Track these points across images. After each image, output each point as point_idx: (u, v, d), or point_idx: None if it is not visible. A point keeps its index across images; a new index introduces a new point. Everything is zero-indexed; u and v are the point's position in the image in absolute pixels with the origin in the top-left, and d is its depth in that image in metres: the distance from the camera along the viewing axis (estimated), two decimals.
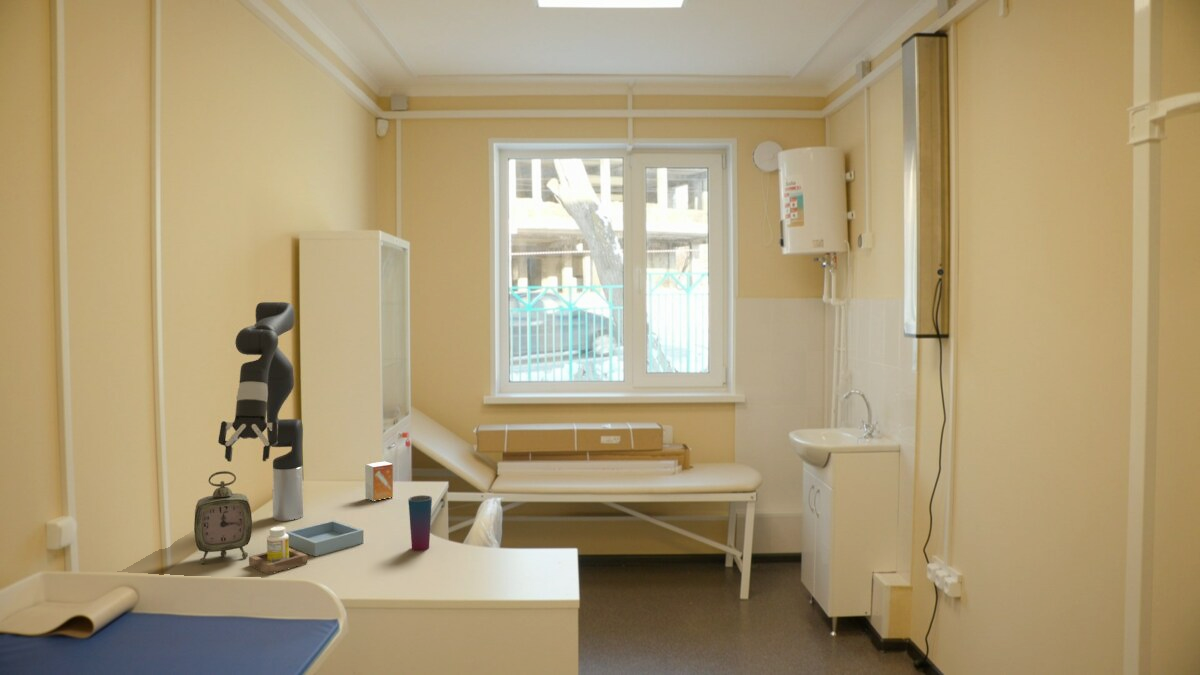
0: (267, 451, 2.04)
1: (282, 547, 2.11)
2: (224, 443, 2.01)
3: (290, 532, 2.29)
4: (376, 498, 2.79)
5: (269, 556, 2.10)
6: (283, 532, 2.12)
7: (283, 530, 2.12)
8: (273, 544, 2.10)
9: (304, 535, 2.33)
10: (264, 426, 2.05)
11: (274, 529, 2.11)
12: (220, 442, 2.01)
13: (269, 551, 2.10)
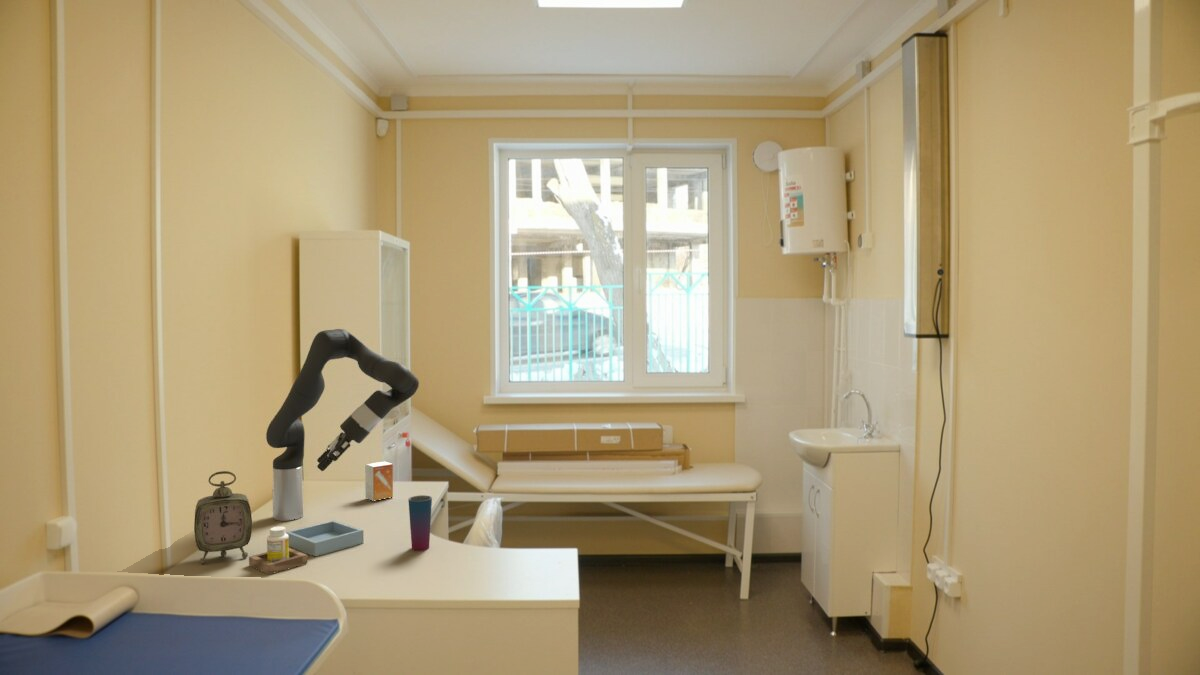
0: None
1: (282, 547, 2.11)
2: None
3: (290, 532, 2.29)
4: (376, 498, 2.79)
5: (269, 556, 2.10)
6: (283, 532, 2.12)
7: (283, 530, 2.12)
8: (273, 544, 2.10)
9: (304, 535, 2.33)
10: None
11: (274, 529, 2.11)
12: (335, 460, 2.11)
13: (269, 551, 2.10)
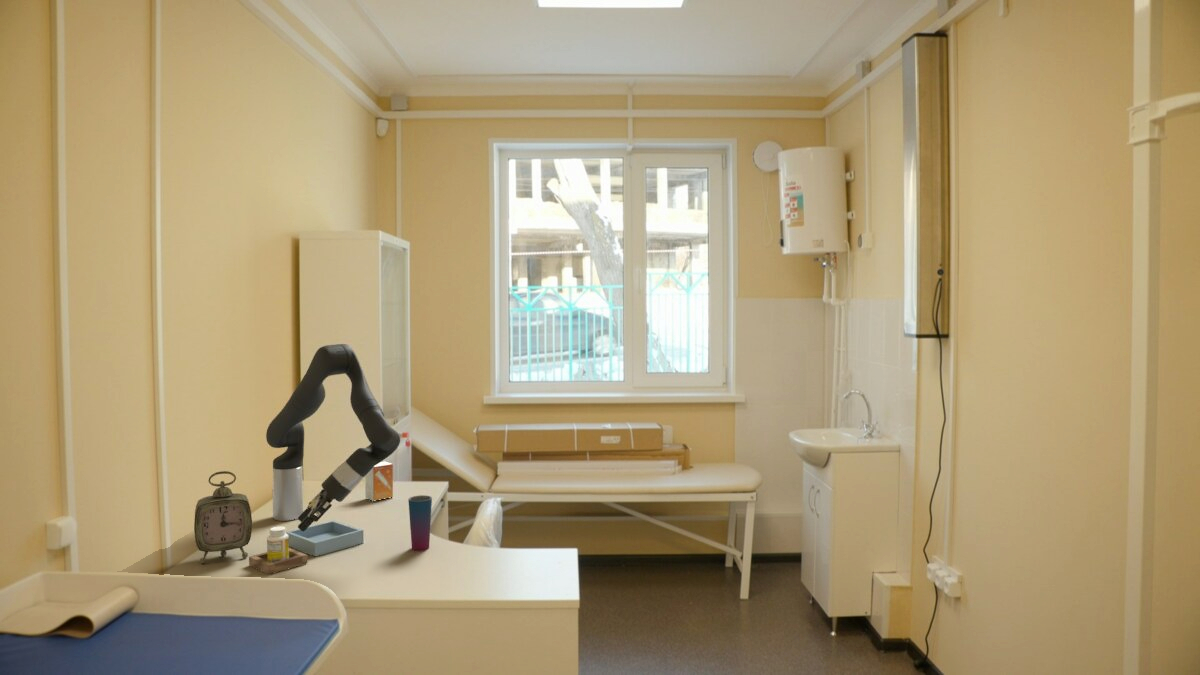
0: None
1: (282, 547, 2.11)
2: None
3: (290, 532, 2.29)
4: (376, 498, 2.79)
5: (269, 556, 2.10)
6: (283, 532, 2.12)
7: (283, 530, 2.12)
8: (273, 544, 2.10)
9: (304, 535, 2.33)
10: None
11: (274, 529, 2.11)
12: (316, 521, 2.10)
13: (269, 551, 2.10)
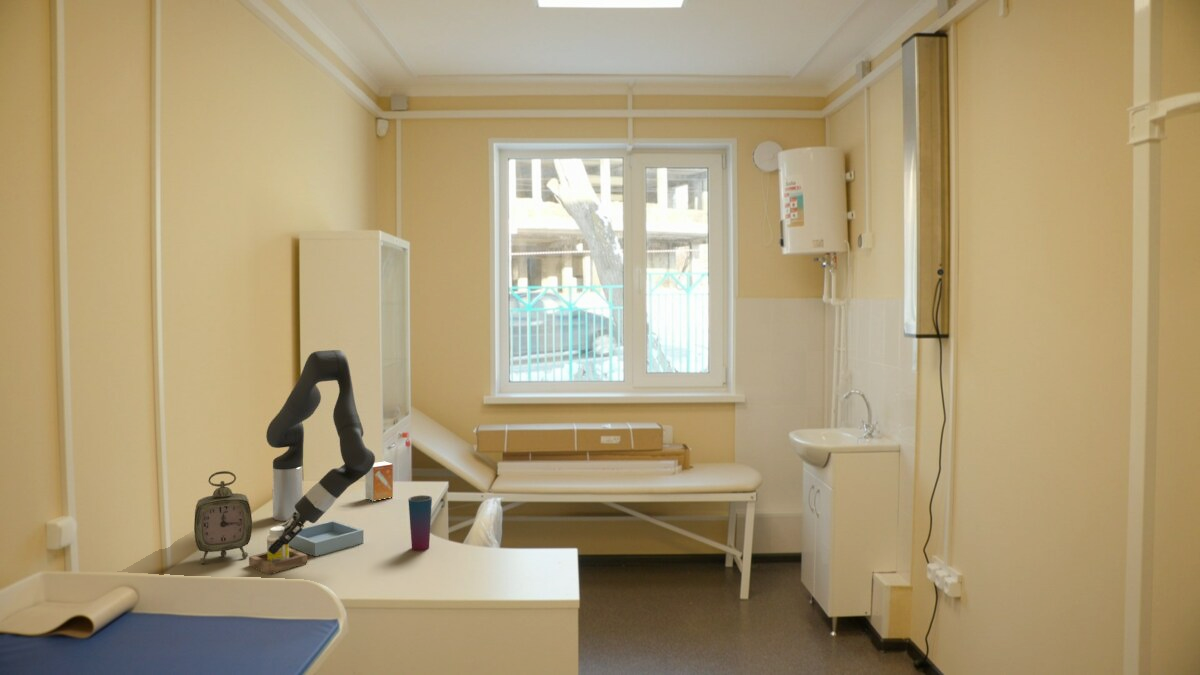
0: None
1: (282, 547, 2.11)
2: None
3: None
4: (376, 498, 2.79)
5: (269, 556, 2.10)
6: None
7: None
8: None
9: (304, 535, 2.33)
10: None
11: (274, 529, 2.11)
12: (287, 543, 2.08)
13: None
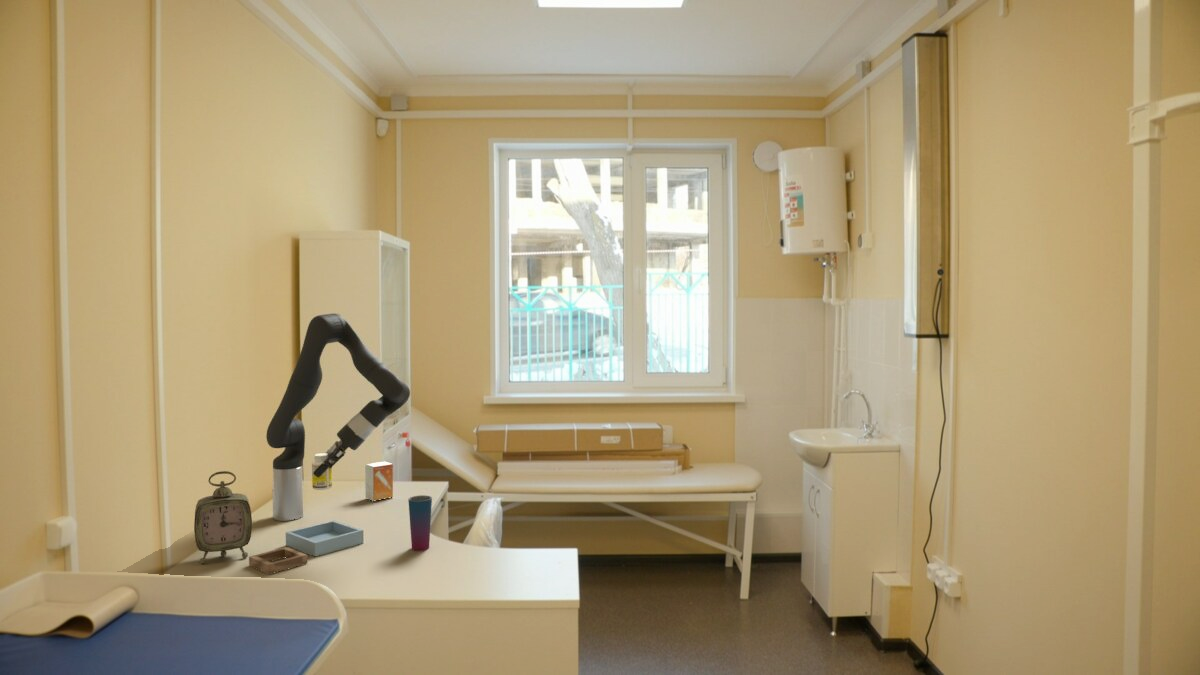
0: None
1: (326, 471, 2.27)
2: None
3: (290, 532, 2.29)
4: (376, 498, 2.79)
5: (314, 479, 2.27)
6: None
7: None
8: None
9: (304, 535, 2.33)
10: None
11: (319, 455, 2.27)
12: (330, 467, 2.25)
13: (314, 475, 2.27)
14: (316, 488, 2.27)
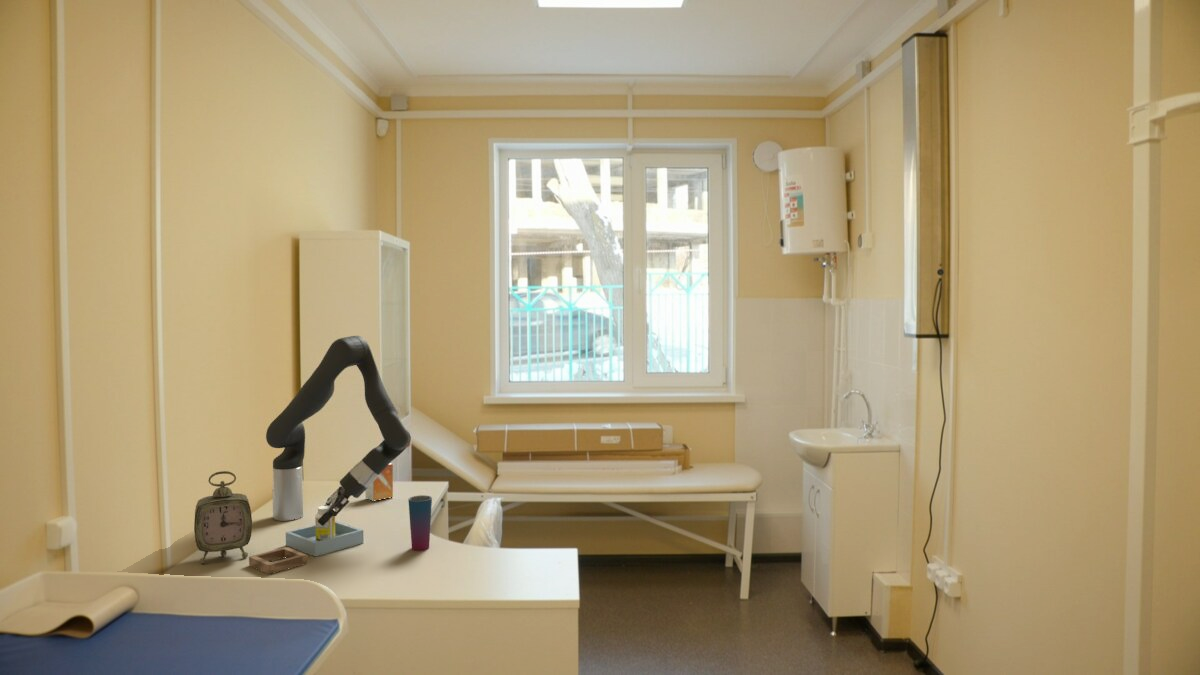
0: None
1: (329, 524, 2.29)
2: None
3: (290, 532, 2.29)
4: (376, 498, 2.79)
5: (317, 532, 2.28)
6: None
7: None
8: None
9: (304, 535, 2.33)
10: None
11: (322, 508, 2.29)
12: (335, 515, 2.25)
13: (317, 528, 2.28)
14: None
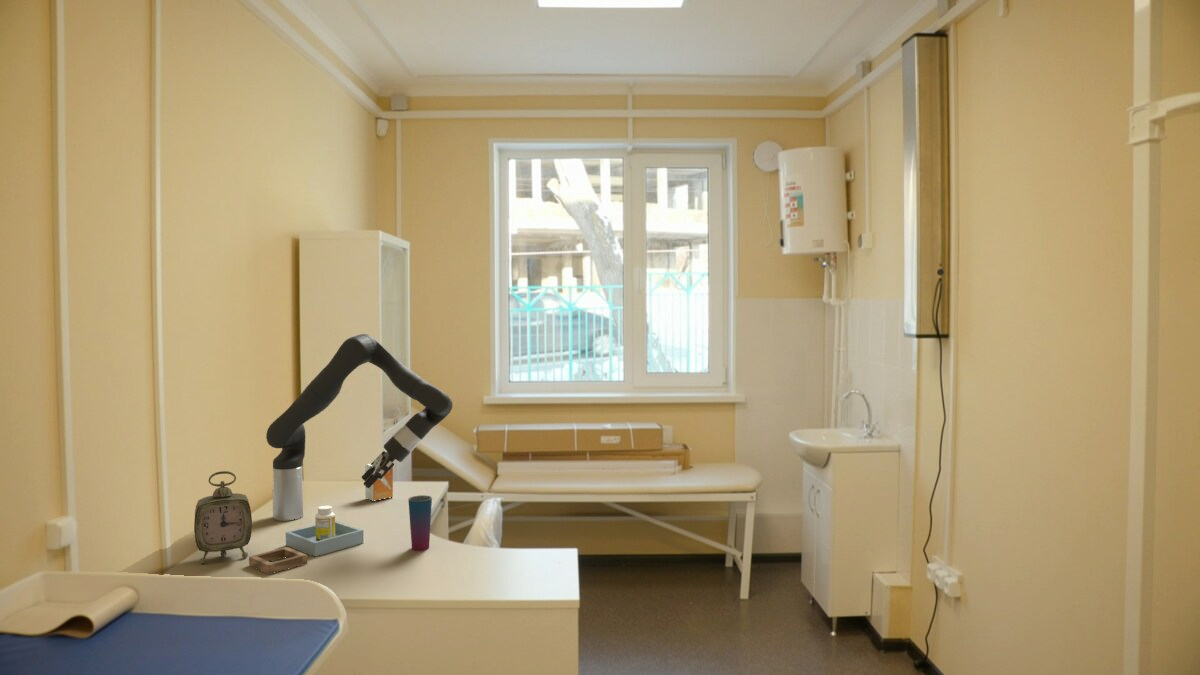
0: None
1: (329, 524, 2.29)
2: None
3: (290, 532, 2.29)
4: (376, 498, 2.79)
5: (317, 532, 2.28)
6: (330, 510, 2.30)
7: (330, 509, 2.30)
8: (321, 521, 2.28)
9: (304, 535, 2.33)
10: None
11: (322, 508, 2.29)
12: (380, 478, 2.29)
13: (317, 528, 2.28)
14: None
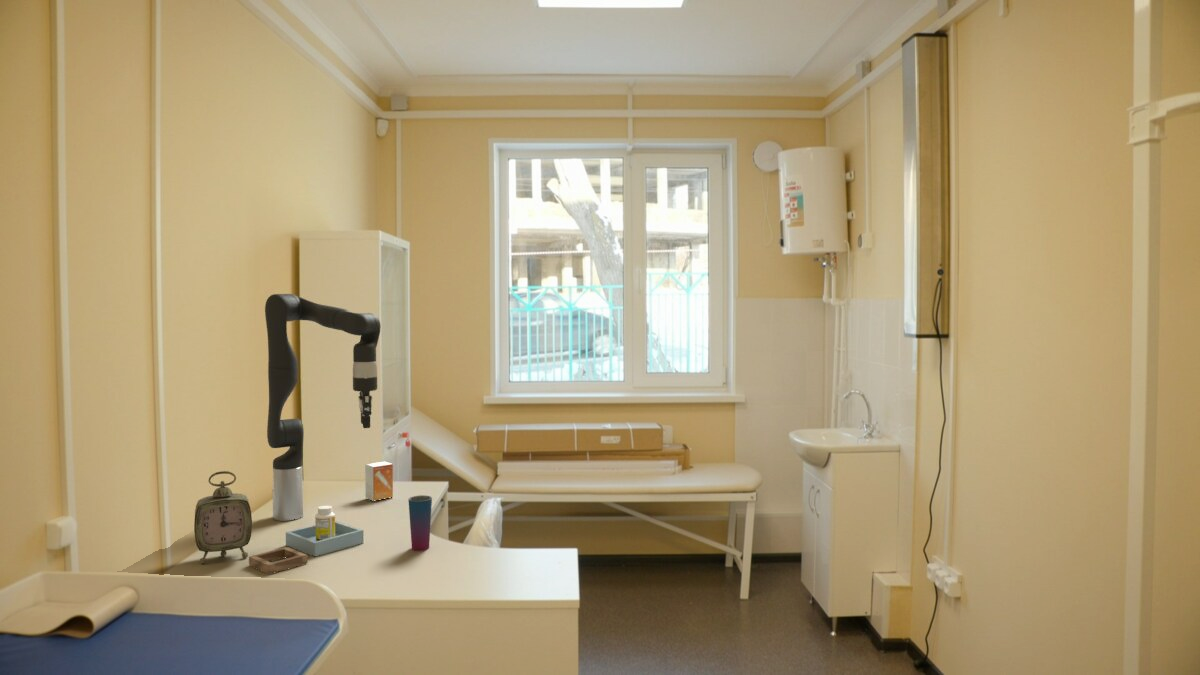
0: None
1: (329, 524, 2.29)
2: None
3: (290, 532, 2.29)
4: (376, 498, 2.79)
5: (317, 532, 2.28)
6: (330, 510, 2.30)
7: (330, 508, 2.30)
8: (321, 521, 2.28)
9: (304, 535, 2.33)
10: None
11: (322, 508, 2.29)
12: (371, 413, 2.40)
13: (317, 528, 2.28)
14: None
